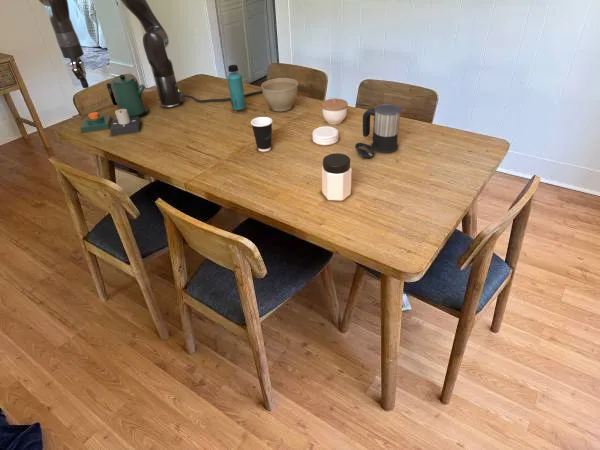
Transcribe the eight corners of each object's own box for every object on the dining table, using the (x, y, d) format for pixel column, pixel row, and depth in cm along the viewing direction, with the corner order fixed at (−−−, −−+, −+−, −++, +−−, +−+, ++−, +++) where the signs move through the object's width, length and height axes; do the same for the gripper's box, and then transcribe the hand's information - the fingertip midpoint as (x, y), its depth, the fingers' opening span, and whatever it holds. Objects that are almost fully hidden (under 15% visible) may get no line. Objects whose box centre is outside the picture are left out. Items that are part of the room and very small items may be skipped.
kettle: (158, 109, 192) (148, 70, 181) (145, 120, 182) (133, 79, 171) (123, 108, 195) (111, 69, 184) (109, 119, 185) (94, 79, 174)
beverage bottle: (247, 107, 188) (242, 62, 176) (245, 113, 183) (238, 67, 171) (234, 108, 189) (227, 63, 177) (230, 113, 184) (223, 68, 171)
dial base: (140, 122, 181) (138, 115, 179) (139, 131, 173) (137, 124, 171) (114, 126, 179) (112, 119, 177) (112, 135, 171) (109, 128, 169)
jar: (334, 183, 133) (334, 149, 126) (355, 191, 129) (356, 157, 122) (317, 195, 128) (316, 161, 121) (338, 204, 124) (338, 169, 116)
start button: (100, 115, 180) (98, 111, 179) (98, 118, 177) (97, 115, 176) (90, 116, 179) (88, 112, 178) (89, 120, 176) (87, 116, 175)
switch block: (111, 119, 185) (108, 111, 183) (109, 128, 177) (106, 119, 175) (86, 123, 183) (82, 114, 181) (82, 132, 176) (79, 123, 173)
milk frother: (399, 143, 153) (403, 104, 144) (392, 163, 142) (396, 122, 133) (361, 139, 157) (363, 101, 148) (352, 158, 146) (353, 119, 137)
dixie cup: (255, 144, 158) (251, 117, 152) (275, 143, 158) (273, 116, 151) (253, 154, 152) (249, 126, 145) (274, 153, 152) (271, 125, 145)
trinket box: (343, 127, 166) (344, 105, 160) (318, 125, 169) (318, 103, 164) (349, 117, 174) (350, 95, 168) (325, 115, 177) (325, 93, 171)
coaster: (342, 136, 160) (342, 127, 158) (332, 147, 153) (332, 138, 151) (318, 132, 164) (318, 124, 162) (308, 143, 157) (308, 134, 155)
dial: (118, 121, 176) (114, 109, 172) (130, 119, 176) (126, 107, 173) (118, 125, 172) (114, 113, 169) (130, 123, 173) (126, 111, 170)
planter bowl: (278, 99, 195) (276, 75, 189) (306, 105, 187) (305, 81, 181) (256, 110, 185) (253, 86, 178) (284, 117, 177) (282, 92, 171)
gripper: (62, 40, 165) (78, 84, 175) (55, 48, 155) (74, 94, 165) (81, 38, 166) (97, 81, 177) (76, 46, 156) (93, 91, 166)
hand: (86, 87), depth 171 cm, fingers closed
